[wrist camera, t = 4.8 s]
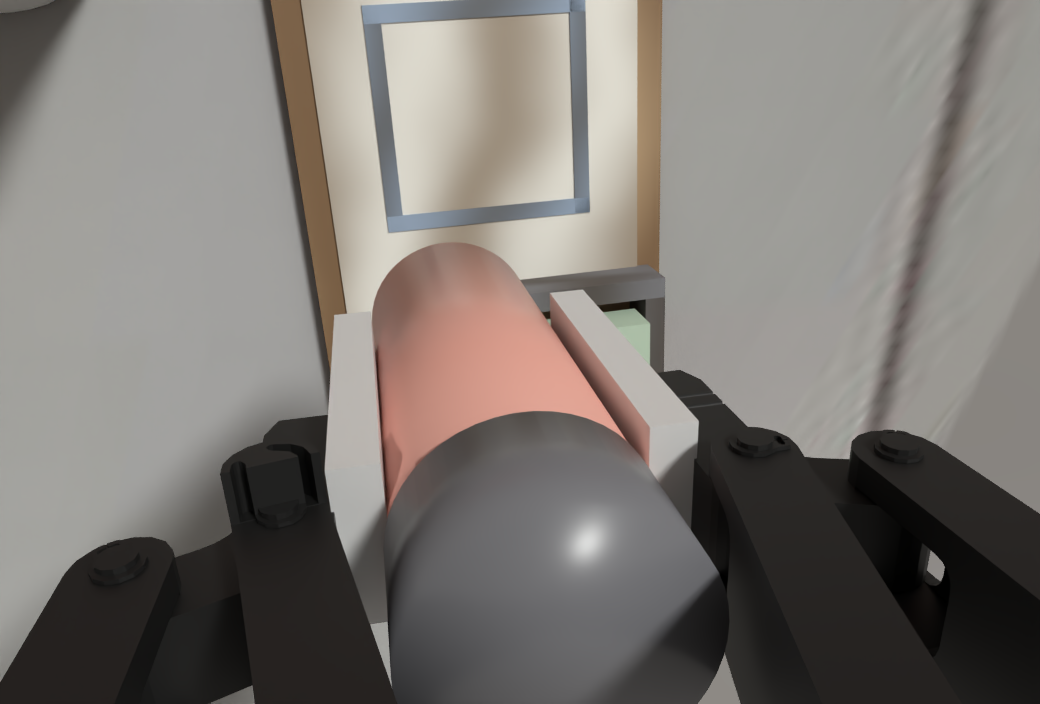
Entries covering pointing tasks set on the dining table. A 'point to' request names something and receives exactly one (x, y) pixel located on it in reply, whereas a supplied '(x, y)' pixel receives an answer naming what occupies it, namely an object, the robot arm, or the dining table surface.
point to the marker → (523, 511)
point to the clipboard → (480, 142)
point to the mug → (21, 5)
